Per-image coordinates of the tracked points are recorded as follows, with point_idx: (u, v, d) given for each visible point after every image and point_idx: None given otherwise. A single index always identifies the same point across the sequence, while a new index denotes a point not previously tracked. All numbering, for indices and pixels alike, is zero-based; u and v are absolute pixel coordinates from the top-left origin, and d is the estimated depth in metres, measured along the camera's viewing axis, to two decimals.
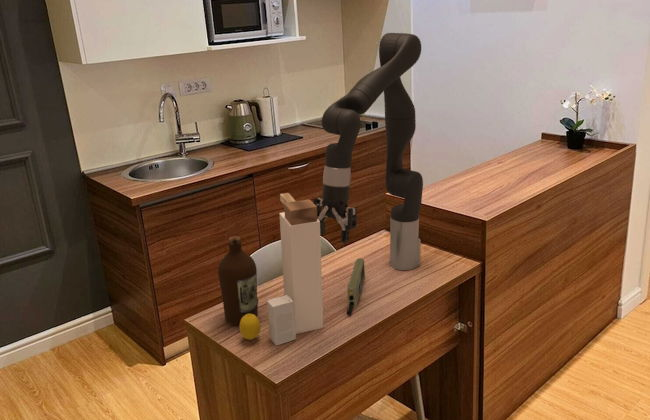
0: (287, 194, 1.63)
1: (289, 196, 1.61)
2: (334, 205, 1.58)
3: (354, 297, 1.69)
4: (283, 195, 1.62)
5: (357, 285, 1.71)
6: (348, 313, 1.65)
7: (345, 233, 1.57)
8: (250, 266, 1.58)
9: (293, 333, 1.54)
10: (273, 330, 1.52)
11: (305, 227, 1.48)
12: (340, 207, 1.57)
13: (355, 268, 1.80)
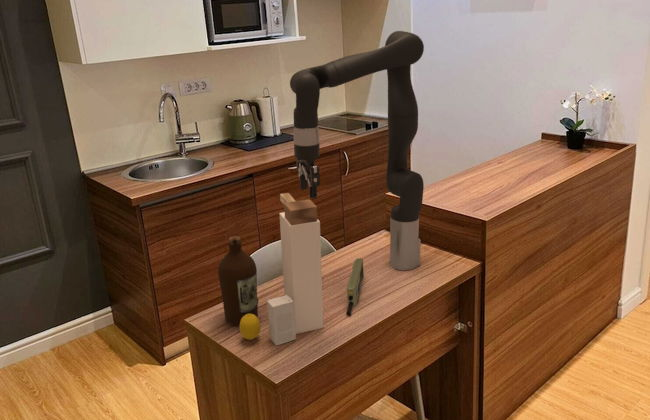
0: (287, 194, 1.63)
1: (289, 196, 1.61)
2: (304, 163, 1.71)
3: (353, 297, 1.69)
4: (283, 195, 1.62)
5: (356, 285, 1.71)
6: (348, 313, 1.65)
7: (311, 189, 1.70)
8: (250, 266, 1.58)
9: (293, 333, 1.54)
10: (273, 330, 1.52)
11: (305, 227, 1.48)
12: (307, 165, 1.69)
13: (354, 268, 1.80)
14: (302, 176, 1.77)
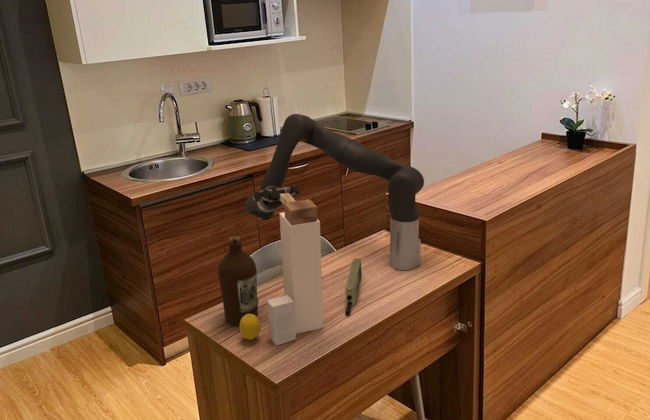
0: (287, 194, 1.63)
1: (289, 196, 1.61)
2: None
3: (352, 297, 1.70)
4: (283, 195, 1.62)
5: (355, 285, 1.71)
6: (346, 313, 1.65)
7: (263, 196, 1.76)
8: (250, 266, 1.58)
9: (293, 333, 1.54)
10: (273, 330, 1.52)
11: (305, 227, 1.48)
12: None
13: (352, 268, 1.80)
14: (290, 191, 1.80)
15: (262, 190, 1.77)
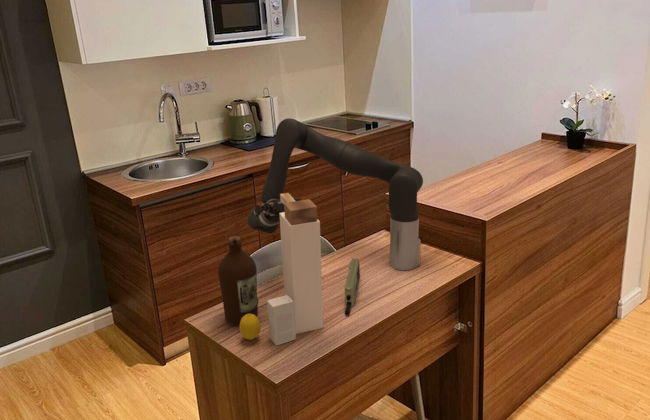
0: (287, 194, 1.63)
1: (289, 196, 1.61)
2: None
3: (351, 297, 1.70)
4: (283, 195, 1.62)
5: (354, 285, 1.71)
6: (346, 313, 1.65)
7: (264, 210, 1.68)
8: (250, 266, 1.58)
9: (293, 333, 1.54)
10: (273, 330, 1.52)
11: (305, 227, 1.48)
12: None
13: (351, 268, 1.80)
14: None
15: (263, 204, 1.69)
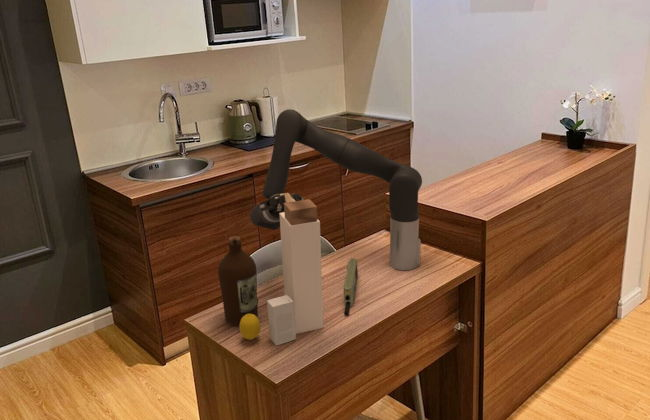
0: (287, 194, 1.63)
1: (289, 196, 1.61)
2: None
3: (350, 297, 1.70)
4: None
5: (353, 285, 1.71)
6: (345, 313, 1.65)
7: (279, 203, 1.61)
8: (250, 266, 1.58)
9: (293, 333, 1.54)
10: (273, 330, 1.52)
11: (305, 227, 1.48)
12: (271, 209, 1.68)
13: (349, 268, 1.80)
14: None
15: (278, 196, 1.62)
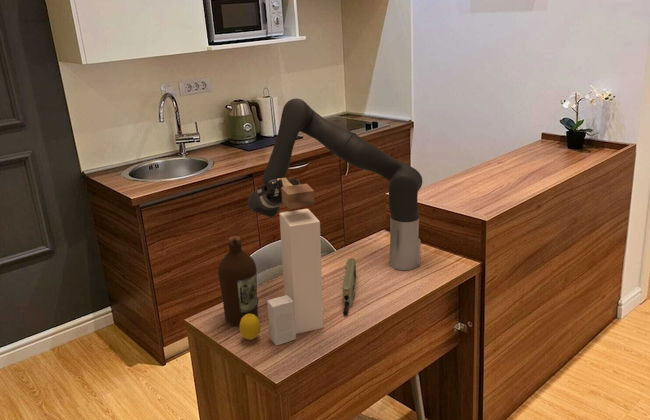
0: (285, 178, 1.63)
1: (286, 181, 1.61)
2: None
3: (349, 297, 1.70)
4: None
5: (351, 285, 1.71)
6: (344, 313, 1.65)
7: (276, 187, 1.61)
8: (250, 266, 1.58)
9: (293, 333, 1.54)
10: (273, 330, 1.52)
11: (305, 227, 1.48)
12: (268, 195, 1.68)
13: (347, 268, 1.80)
14: None
15: (276, 181, 1.63)
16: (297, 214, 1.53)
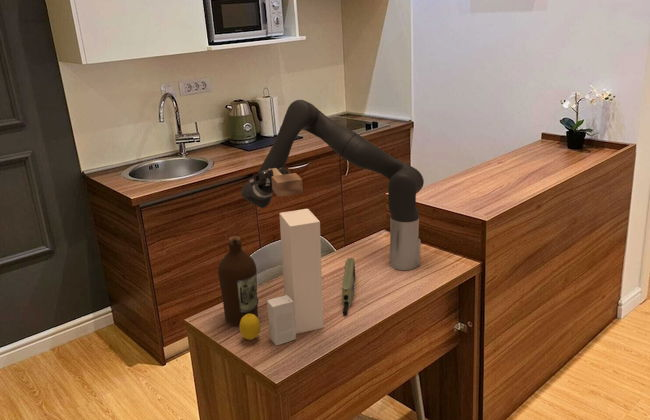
0: (275, 169, 1.72)
1: (277, 171, 1.70)
2: None
3: (349, 297, 1.70)
4: None
5: (351, 285, 1.71)
6: (344, 313, 1.65)
7: (267, 177, 1.70)
8: (250, 266, 1.58)
9: (293, 333, 1.54)
10: (273, 330, 1.52)
11: (305, 227, 1.48)
12: (260, 184, 1.77)
13: (347, 268, 1.80)
14: None
15: (267, 171, 1.71)
16: (297, 214, 1.53)
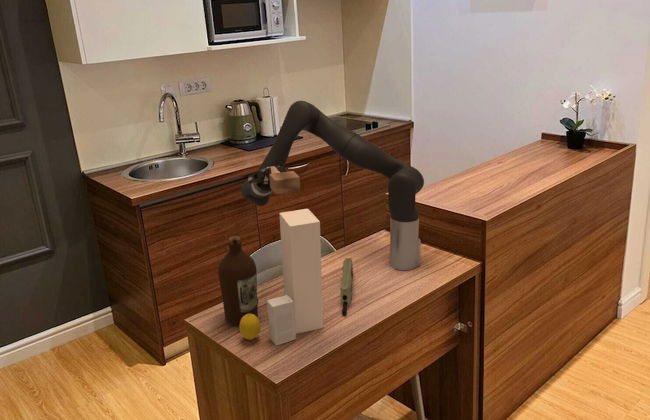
0: (273, 167, 1.74)
1: (275, 169, 1.72)
2: None
3: (347, 297, 1.70)
4: None
5: (350, 285, 1.71)
6: (343, 313, 1.65)
7: (266, 175, 1.72)
8: (250, 266, 1.58)
9: (293, 333, 1.54)
10: (273, 330, 1.52)
11: (305, 227, 1.48)
12: (258, 182, 1.79)
13: (345, 268, 1.80)
14: None
15: None
16: (297, 214, 1.53)
